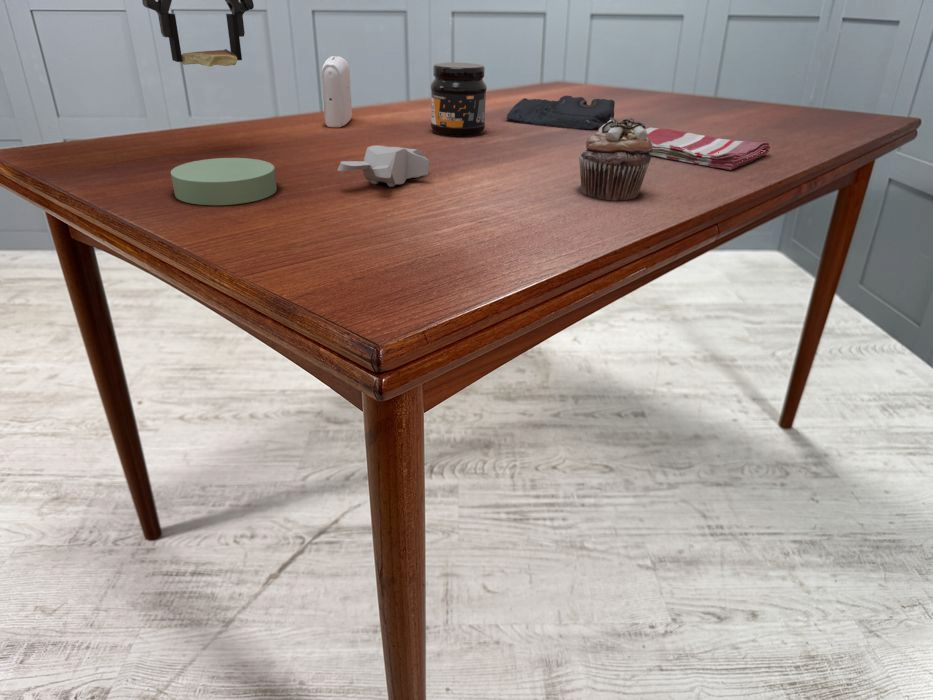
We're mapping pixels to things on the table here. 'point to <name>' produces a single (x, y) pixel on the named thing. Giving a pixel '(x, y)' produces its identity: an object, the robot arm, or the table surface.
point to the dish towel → (703, 148)
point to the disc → (224, 181)
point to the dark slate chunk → (563, 112)
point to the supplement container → (458, 99)
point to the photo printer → (336, 92)
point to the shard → (210, 58)
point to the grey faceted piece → (389, 164)
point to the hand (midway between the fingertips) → (207, 60)
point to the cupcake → (615, 160)
